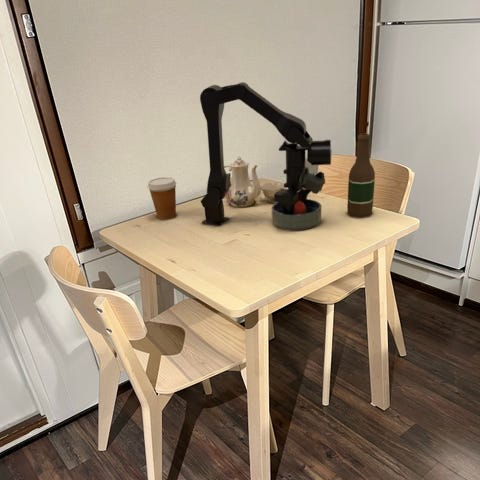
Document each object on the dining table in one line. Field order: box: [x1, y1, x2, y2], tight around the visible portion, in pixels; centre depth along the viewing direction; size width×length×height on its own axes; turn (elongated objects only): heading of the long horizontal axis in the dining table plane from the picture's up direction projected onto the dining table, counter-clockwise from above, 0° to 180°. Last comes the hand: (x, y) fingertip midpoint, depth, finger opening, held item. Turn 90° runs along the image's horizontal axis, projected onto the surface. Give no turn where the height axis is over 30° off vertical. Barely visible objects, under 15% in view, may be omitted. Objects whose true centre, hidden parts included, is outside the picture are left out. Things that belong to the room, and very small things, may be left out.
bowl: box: [270, 198, 323, 231], centre depth 151 cm, size 15×15×5 cm
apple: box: [294, 201, 306, 214], centre depth 150 cm, size 6×6×7 cm
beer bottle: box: [346, 132, 376, 218], centre depth 148 cm, size 8×8×24 cm
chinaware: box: [224, 155, 285, 208], centre depth 170 cm, size 28×17×17 cm, turn 58°
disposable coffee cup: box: [147, 176, 177, 220], centre depth 163 cm, size 10×10×12 cm
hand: (296, 216), depth 152 cm, fingers open, 8 cm apart
